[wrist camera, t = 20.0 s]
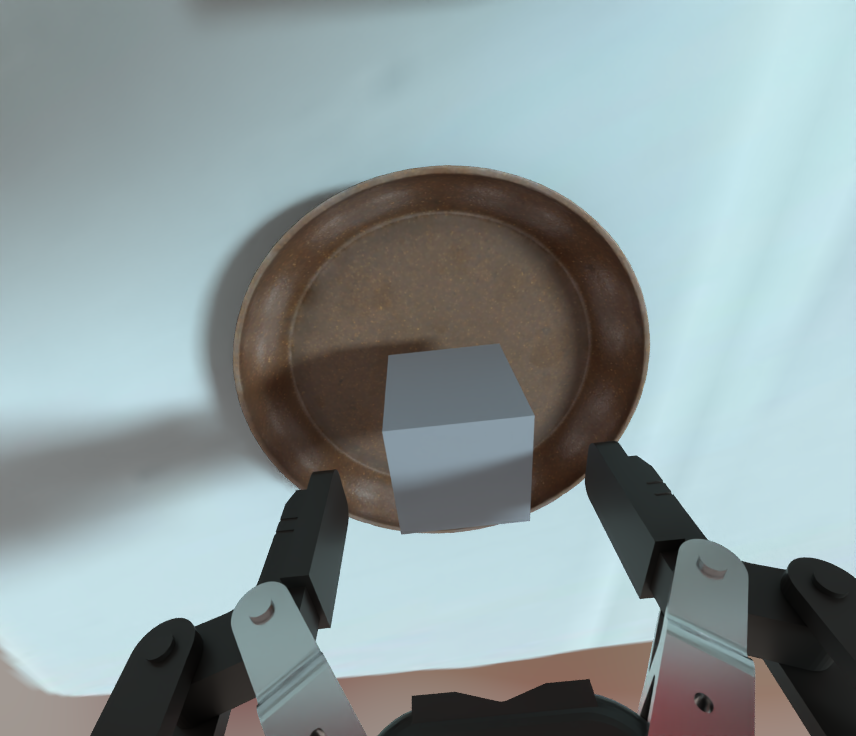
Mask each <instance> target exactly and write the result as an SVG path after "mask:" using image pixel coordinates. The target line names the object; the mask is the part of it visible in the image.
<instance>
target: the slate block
mask: <svg viewBox="0 0 856 736" xmlns="http://www.w3.org/2000/svg"><path fill="white" fill-rule="evenodd" d="M534 418H535V415H534V413H533V411H532V409H531V407H530V405H529V403H528V401H527V399H526V397H525V395H524V393H523V391H522V389H521V387H520V385H519V383H518V381H517V379H516V377H515V375H514V373H513V371H512V369H511V367H510V364H509V362H508V360H507V358H506V356H505V354H504V352H503V350H502V348H501V346H500V344H490V345H480V346H471V347H461V348H452V349H442V350H433V351H424V352H414V353H405V354H395V355H389V356H388V368H387V380H386V392H385V404H384V416H383V428H382V433H383V439H384V444H385V449H386V455H387V460H388V465H389V471H390V476H391V482H392V487H393V492H394V498H395V503H396V509H397V514H398V519H399V525H400V530H401V534H410V533H420V532H429V531H438V530H448V529H457V528H467V527H476V526H486V525H495V524H505V523H514V522H524V521H530V506H531V484H532V462H533V440H534Z"/></svg>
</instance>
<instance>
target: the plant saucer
mask: <svg viewBox="0 0 856 736" xmlns="http://www.w3.org/2000/svg"><path fill="white" fill-rule="evenodd" d="M490 344H500V346H501V348H502V350H503V352H504V354H505V356H506V358H507V360H508V362H509V364H510V367H511V369H512V371H513V373H514V375H515V377H516V379H517V381H518V383H519V385H520V387H521V389H522V391H523V393H524V395H525V397H526V399H527V401H528V403H529V405H530V407H531V409H532V411H533V413H534V415H535V418H534V440H533V462H532V484H531V506H530V513H531V512H534V511H535V510H538V509H540V508H541V507H544V506H546V505H548V504H549V503H551V502H553V501H554V500H556V499H558V498H559V497H560V496H562V495H563V494H565V493H567V492H568V491H569V490H571V489H572V488H573V487H575V486H576V485H577V484H579V483H580V482H581V481H582V480H583V479H584V478H585V473H586V465H587V457H588V449H589V445H590V444H591V443H597V442H607V441H617V442H618V441H619V439H620V438H621V436H622V435H623V433H624V431H625V430H626V428H627V426H628V424H629V422H630V420H631V418H632V416H633V414H634V412H635V410H636V408H637V405H638V403H639V400H640V397H641V395H642V391H643V387H644V384H645V380H646V375H647V370H648V362H649V352H650V334H649V323H648V316H647V310H646V305H645V302H644V298H643V294H642V291H641V288H640V285H639V283H638V280H637V278H636V276H635V274H634V271H633V269H632V267H631V265H630V263H629V261H628V260H627V258H626V256H625V255H624V254H623V252H622V251H621V249H620V247H619V245H618V244H617V243H616V242H615V240H614V239H613V238H612V237H611V236H610V234H609V233H608V232H607V231H606V230H605V229H604V228H603V227H602V226H601V225H600V224H599V223H598V222H597V221H596V220H595V219H594V218H592V217H591V216H590V215H589V214H588V213H587V212H585V211H584V210H583V209H582V208H580V207H579V206H578V205H576V204H575V203H574V202H572V201H571V200H569V199H568V198H566V197H564V196H563V195H561V194H559V193H557V192H555V191H553V190H551V189H549V188H547V187H545V186H543V185H541V184H539V183H536V182H534V181H531V180H528V179H525V178H522V177H520V176H517V175H513V174H509V173H506V172H502V171H497V170H492V169H487V168H479V167H469V166H451V165H443V166H429V167H421V168H413V169H407V170H402V171H398V172H393V173H390V174H386V175H382V176H378V177H375V178H372V179H370V180H367V181H364V182H361V183H359V184H357V185H354V186H352V187H350V188H348V189H346V190H344V191H342V192H340V193H338V194H336V195H334V196H333V197H331V198H329V199H327V200H326V201H324V202H323V203H321V204H320V205H318V206H317V207H315V208H314V209H313V210H311V211H310V212H309V213H307V214H306V215H305V216H303V217H302V218H301V219H300V220H299V221H298V222H297V223H296V224H295V225H293V226H292V227H291V228H290V229H289V230H288V231H287V232H286V233H285V234H284V235H283V236H282V237H281V238H280V239H279V241H278V242H277V243H276V244H275V245H274V247H273V248H272V249H271V250H270V252H269V253H268V254H267V256H266V257H265V259H264V260H263V262H262V263H261V265H260V266H259V268H258V270H257V271H256V273H255V275H254V277H253V278H252V281H251V283H250V285H249V287H248V289H247V292H246V294H245V297H244V299H243V302H242V306H241V309H240V313H239V316H238V320H237V325H236V330H235V336H234V344H233V372H234V379H235V385H236V391H237V393H238V399H239V403H240V405H241V408H242V411H243V414H244V416H245V419H246V421H247V423H248V425H249V427H250V430H251V432H252V434H253V435H254V437H255V439H256V440H257V442H258V443H259V445H260V447H261V448H262V450H263V451H264V453H265V454H266V455H267V456H268V458H269V459H270V460H271V462H272V463H273V464H274V465H275V466H276V467H277V468H278V470H279V471H280V472H281V473H282V474H284V475H285V477H286V478H288V479H289V480H290V481H291V482H292V483H293V484H295V485H296V486H297V487H298V488H299V489H301V490H304V489H307V486H308V483H309V480H310V477H311V474H312V473H313V472H315V471H325V470H334V469H337V470H338V472H339V475H340V479H341V482H342V486H343V489H344V492H345V496H346V499H347V503H348V511H349V517H350V518H353V519H355V520H358V521H361V522H364V523H368V524H371V525H374V526H378V527H382V528H387V529H392V530H398V531H401V530H400V525H399V519H398V514H397V509H396V503H395V498H394V492H393V487H392V482H391V476H390V471H389V465H388V460H387V455H386V449H385V444H384V439H383V433H382V428H383V416H384V404H385V392H386V380H387V368H388V356H389V355H395V354H405V353H414V352H424V351H433V350H442V349H452V348H461V347H471V346H480V345H490ZM495 525H498V524H495ZM490 526H494V525H486V526H476V527H467V528H457V529H448V530H438V531H429V532H420V533H454V532H463V531H470V530H476V529H481V528H486V527H490Z"/></svg>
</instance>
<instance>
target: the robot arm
mask: <svg viewBox="0 0 856 736" xmlns="http://www.w3.org/2000/svg"><path fill="white" fill-rule="evenodd" d="M585 486H586V491H587V495H588V497H589V499H590V501H591V503H592V505H593V507H594V509H595V511H596V513H597V515H598V517H599V519H600V521H601V523H602V525H603V527H604V529H605V531H606V533H607V535H608V537H609V539H610V541H611V543H612V545H613V547H614V549H615V551H616V553H617V555H618V557H619V559H620V561H621V563H622V565H623V567H624V569H625V571H626V573H627V575H628V577H629V579H630V580H631V582H632V584H633V586H634V588H635V590H636V592H637V594H638V596H639V598H640V599H644V598H655V599H656V601H657V603H658V605H659V607H660V611H659V614H658V619H657V624H656V629H655V634H654V639H653V644H652V649H651V654H650V659H649V664H648V670H647V675H646V680H645V684H644V688H643V692H642V695H641V699H640V703H639V708H638V712H637V713H635V712H634V711H632V710H631V709H629V708H627V707H626V706H624V705H622V704H620V703H618V702H616V701H614V700H612V699H609V698H606V697H604V696H601V695H596V694H594V692H593V689H592V686H591V683H590V680H589V679H586V680H576V681H565V682H555V683H545V684H543V685H541V686H539V687H536V688H534V689H532V690H529V691H527V692H525V693H523V694H521V695H518V696H516V697H514V698H512V699H509V700H507V701H503V702H499V701H494V700H489V699H485V698H480V697H476V696H471V695H467V694H462V693H457V692H449V693H438V694H428V695H417V696H412V711H409V712H407V713H405V714H403V715H402V716H400V717H398V718H397V719H395V720H394V721H393V722H391V723H390V724H389V725H388V726H387V727H385V728H384V729H383V730H382V732H381V733H380V734H379V735H378V736H755V667H754V662H753V660H752V659H751V658H748V656H752V657H757V658H761V659H763V660H764V662H765V664H766V665H767V667H768V668H769V670H770V671H771V673H772V675H773V676H774V678H775V679H776V681H777V683H778V684H779V686H780V687H781V689H782V690H783V692H784V694H785V695H786V697H787V699H788V700H789V702H790V703H791V705H792V707H793V708H794V710H795V711H796V713H797V714H798V716H799V718H800V719H801V721H802V722H803V724H804V726H805V727H806V729H807V730H808V732H809V734H810V735H811V736H856V578H854V577H853V576H852V575H851V574H849V573H848V572H846V571H845V570H843V569H841V568H839V567H837V566H835V565H833V564H831V563H829V562H826V561H823V560H819V559H815V558H805V557H803V558H797V559H794V560H793V561H791V563H790V564H789V566H788V567H787V569H786V570H784V569H779V568H773V567H768V566H762V565H757V564H751V563H747V562H743V561H741V560H740V559H739V558H738V557H737V556H736V555H735V554H734V553H733V552H731V551H730V550H728V549H727V548H725V547H724V546H722V545H720V544H718V543H715V542H712V541H709V540H708V539H707V538H706V537H705V536H704V534H703V533H702V532H701V531H700V529H699V528H698V527H697V525H696V524H695V523H694V521H693V520H692V519H691V517H690V516H689V515H688V513H687V512H686V511H685V509H684V508H683V507H682V505H681V504H680V503H679V501H678V500H677V499H676V497H675V496H674V495H672V494H671V491H670V489H669V488H668V487H667V485H666V484H665V483H663V480H662V479H661V478H660V476H659V475H658V474H657V472H656V471H655V470H654V468H653V467H652V466H651V465H649V464H648V463H646V462H645V461H644V460H642V459H641V458H639V457H638V456H627V454H626V453H625V451H624V450H623V448H622V447H621V446H620V444H619V443H618V442H617V441H607V442H597V443H591V444H590V445H589V449H588V457H587V465H586V473H585ZM348 519H349V511H348V503H347V499H346V496H345V492H344V489H343V486H342V482H341V479H340V475H339V472H338V470H337V469H334V470H325V471H315V472H313V473H312V474H311V477H310V480H309V483H308V486H307V489H304V490H297V491H296V492H295V493H294V494H293V495H292V497H291V498H290V499H289V500H288V502H287V503H286V504H285V507H284V510H283V513H282V516H281V519H280V520H281V521H280V522H279V524H278V527H277V530H276V534H275V536H274V538H273V541H272V544H271V547H270V550H269V553H268V555H267V558H266V561H265V564H264V567H263V570H262V572H261V575H260V578H259V581H258V583H257V585H256V587H254V588H252V589H251V590H250V591H248V592H247V593H246V594H245V595H244V596H243V597H242V598H241V599H240V600H239V602H238V603H237V605H236V607H235V609H234V610H232V611H230V612H228V613H226V614H224V615H222V616H219V617H217V618H214V619H212V620H210V621H207V622H205V623H202V624H200V625H198V626H195V627H194V625H193V624H192V623H191V622H190V621H189V620H187V619H185V618H175V619H171V620H168V621H165V622H163V623H161V624H159V625H158V626H156V627H155V628H153V629H152V630H151V631H150V632H148V633H147V634H146V635H145V636H144V637H143V638H142V639H141V641H140V642H139V643H138V644H137V646H136V647H135V648H134V650H133V652H132V654H131V655H130V657H129V659H128V661H127V663H126V665H125V667H124V669H123V671H122V673H121V675H120V677H119V679H118V681H117V683H116V685H115V687H114V689H113V691H112V693H111V695H110V698H109V699H108V701H107V704H106V705H105V707H104V709H103V712H102V713H101V715H100V717H99V719H98V721H97V723H96V725H95V727H94V729H93V731H92V733H91V735H90V736H224V734H225V730H226V726H227V723H228V719H229V715H230V712H231V709H233V708H235V707H237V706H239V705H241V704H243V703H245V702H247V701H249V700H251V699H253V698H257V701H258V705H257V712H258V716H259V719H260V722H261V725H262V728H263V731H264V734H265V736H367V735H366V733H365V731H364V729H363V727H362V725H361V724H360V722H359V720H358V718H357V716H356V714H355V713H354V711H353V709H352V707H351V705H350V703H349V701H348V699H347V697H346V696H345V694H344V692H343V690H342V688H341V686H340V684H339V683H338V681H337V679H336V677H335V675H334V673H333V671H332V669H331V667H330V666H329V664H328V662H327V660H326V658H325V656H324V655H323V653H322V652H321V651H320V649H319V647H318V645H317V643H316V637H317V632H318V629H323V628H331V622H332V616H333V610H334V604H335V598H336V592H337V586H338V580H339V574H340V568H341V562H342V556H343V550H344V544H345V539H346V533H347V527H348ZM747 655H748V656H747Z"/></svg>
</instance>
